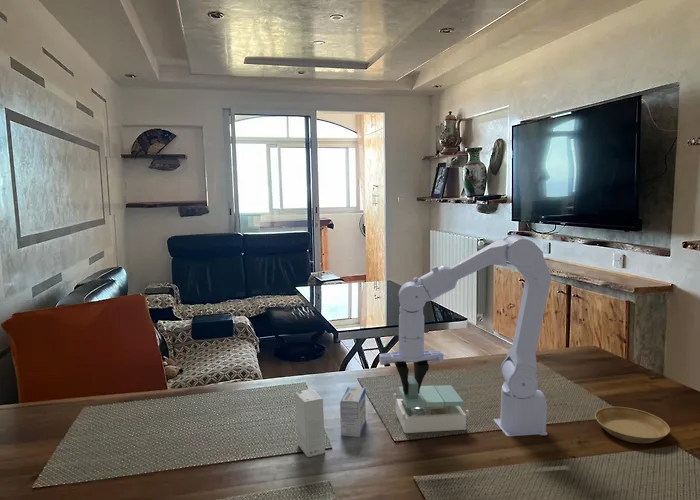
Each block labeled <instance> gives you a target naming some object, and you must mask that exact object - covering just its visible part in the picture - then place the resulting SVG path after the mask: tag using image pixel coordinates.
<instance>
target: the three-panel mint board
mask: <svg viewBox="0 0 700 500" xmlns="http://www.w3.org/2000/svg"><path fill="white" fill-rule="evenodd" d="M414 376H415V375H408V394H404V392H403V386H398V392H399V394H400V396H401V399H403V401H404V403H405V405H406V407H425V406H426V407H434V406H460V407H463V406H464V400H463V399H462V398H461V396H460V395H459V394H458V392H457V391H456V390H455V388H454V387H453V386H452V385H450V384H449V385H421V387H420V391H419V394H418V383H417V381H416V379H415V378H414Z"/></svg>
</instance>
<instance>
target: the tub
mask: <svg viewBox="0 0 700 500" xmlns="http://www.w3.org/2000/svg"><path fill="white" fill-rule="evenodd" d="M392 396H393V400H395V414H396V416H397V419H398V421H399V423H400V427H402V428H401V429H402V431H403V433H404V434H412V433H413V434H415V433H416V434H417V433H430V432H445V431H446V432H447V431H448V432H449V431H459V430H460V431H461V430H463V431H464V430H466V425H467V424H466V422H467V417H469V416H470V411H469V409H465V411H464V410H463V409H462V406H434V407H428V412H429V415H421V416H410V407H406V405H405V403H404V401H403V399H402V398H397V393H396V392H395V393H393V395H392ZM425 407H426V406H425ZM446 408H448V410H449V411H450V413H451V414H439V415H431V409H446Z"/></svg>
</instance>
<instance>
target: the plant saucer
mask: <svg viewBox="0 0 700 500" xmlns="http://www.w3.org/2000/svg"><path fill="white" fill-rule="evenodd" d="M594 419H595V420H596V421H597V423H598V424H599V425H600V427H602V429H604V431H606V432H607V433H608V434H610V435H611V436H613V437H615V438H617V439H620V440H623V441H625V442H629V443H634V444H635V443H636V444H652V443H655V442H657V441H660V440H662V439H664V438H665V437H666V436H667V435H668V434H669V433H670V432H671V427H670V426H669V424H668V423H667V422H666V421H665V420H663V419H662V418H660V417H659V416H657V415H654V414H652V413H649V412H647V411H644V410H640V409H638V408H637V409H636V408H631V407H624V406H607V407H606V406H605V407H601V408H599V409H597V410H596V411H595V413H594Z"/></svg>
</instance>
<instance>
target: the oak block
mask: <svg viewBox="0 0 700 500" xmlns="http://www.w3.org/2000/svg"><path fill="white" fill-rule="evenodd" d="M439 414H451V413H450V411H449V410H448V408H446V409H431V415H439Z"/></svg>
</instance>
